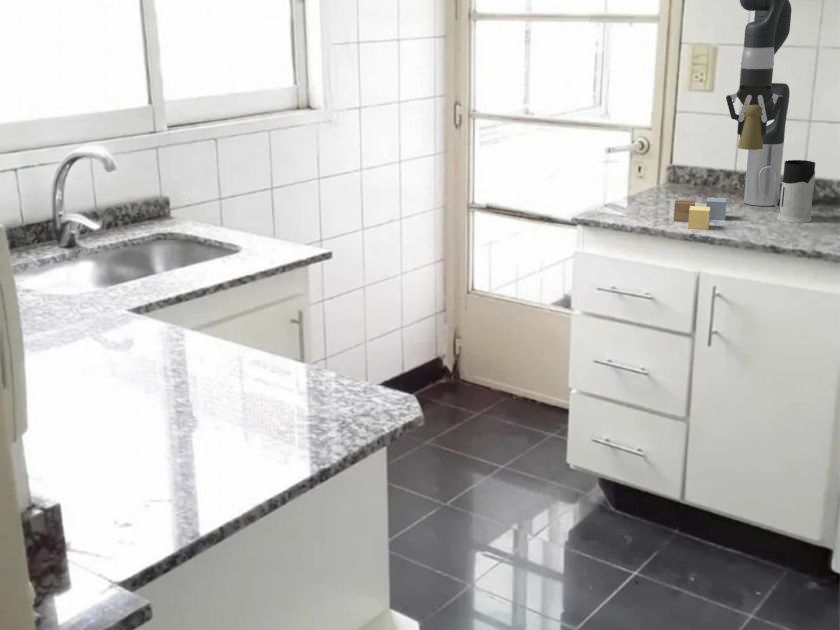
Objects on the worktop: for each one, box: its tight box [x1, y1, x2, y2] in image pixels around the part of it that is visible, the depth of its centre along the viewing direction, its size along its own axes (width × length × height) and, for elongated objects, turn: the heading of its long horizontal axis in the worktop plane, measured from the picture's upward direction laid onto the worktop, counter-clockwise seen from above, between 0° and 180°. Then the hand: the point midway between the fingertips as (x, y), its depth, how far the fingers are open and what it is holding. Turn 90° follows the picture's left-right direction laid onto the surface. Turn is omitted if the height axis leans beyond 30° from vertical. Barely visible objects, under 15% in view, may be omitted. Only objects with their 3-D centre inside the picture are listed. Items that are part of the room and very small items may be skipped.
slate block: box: [705, 197, 728, 221], centre depth 265 cm, size 5×5×5 cm
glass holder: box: [759, 159, 816, 224], centre depth 261 cm, size 9×14×15 cm, turn 77°
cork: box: [737, 104, 763, 151], centre depth 248 cm, size 6×6×11 cm
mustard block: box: [687, 205, 710, 231], centre depth 255 cm, size 5×5×5 cm
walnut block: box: [673, 198, 696, 223], centre depth 264 cm, size 5×5×5 cm
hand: (751, 136), depth 249 cm, fingers closed on cork, 4 cm apart
